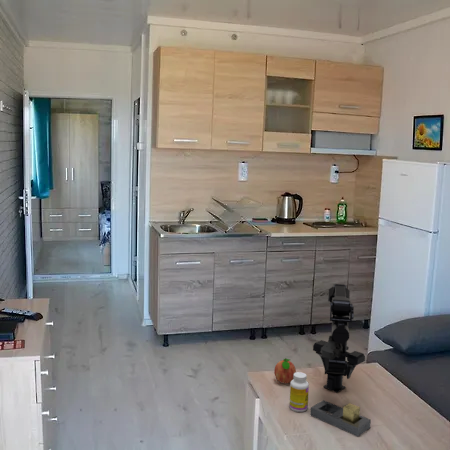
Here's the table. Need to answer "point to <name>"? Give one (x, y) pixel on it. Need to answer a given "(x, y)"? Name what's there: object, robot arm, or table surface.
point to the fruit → (284, 371)
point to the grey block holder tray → (339, 418)
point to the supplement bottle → (299, 392)
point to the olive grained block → (351, 413)
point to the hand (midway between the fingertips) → (337, 374)
